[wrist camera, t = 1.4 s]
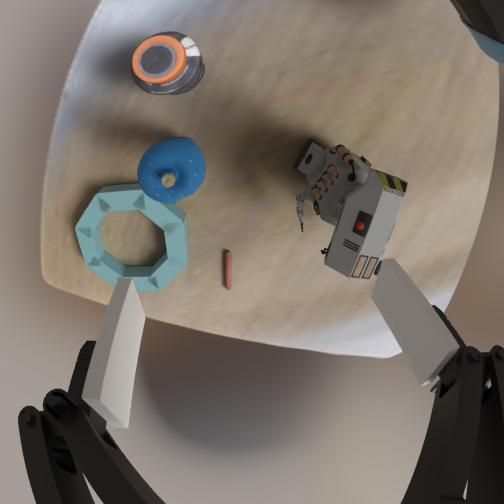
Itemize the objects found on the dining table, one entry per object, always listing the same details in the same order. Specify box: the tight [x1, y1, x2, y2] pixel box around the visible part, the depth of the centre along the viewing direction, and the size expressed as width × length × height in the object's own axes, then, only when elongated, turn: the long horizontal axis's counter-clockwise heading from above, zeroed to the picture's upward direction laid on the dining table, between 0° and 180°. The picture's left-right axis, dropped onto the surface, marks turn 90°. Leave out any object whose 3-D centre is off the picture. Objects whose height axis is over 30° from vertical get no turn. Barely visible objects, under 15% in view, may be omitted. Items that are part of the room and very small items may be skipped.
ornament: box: [137, 137, 205, 204], centre depth 23 cm, size 5×5×15 cm
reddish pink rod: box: [225, 251, 231, 290], centre depth 39 cm, size 7×1×1 cm, turn 177°
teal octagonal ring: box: [75, 183, 189, 291], centre depth 34 cm, size 15×15×2 cm
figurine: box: [293, 138, 408, 280], centre depth 28 cm, size 9×12×15 cm
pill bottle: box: [131, 32, 205, 95], centre depth 19 cm, size 6×6×11 cm
